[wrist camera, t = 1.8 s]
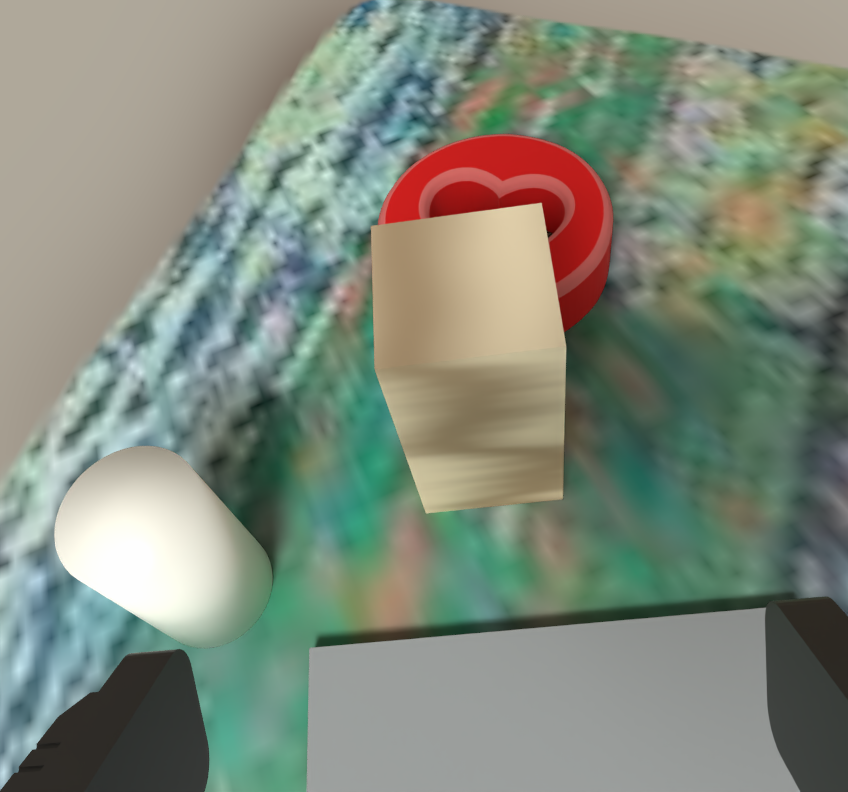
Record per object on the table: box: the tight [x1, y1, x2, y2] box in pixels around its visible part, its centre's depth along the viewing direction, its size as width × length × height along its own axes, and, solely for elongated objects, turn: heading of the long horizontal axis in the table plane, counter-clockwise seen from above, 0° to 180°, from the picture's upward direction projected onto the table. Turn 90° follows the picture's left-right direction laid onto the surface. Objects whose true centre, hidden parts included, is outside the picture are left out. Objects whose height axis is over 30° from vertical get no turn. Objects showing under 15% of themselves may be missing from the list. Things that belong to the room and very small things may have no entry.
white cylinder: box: [55, 446, 273, 648], centre depth 27 cm, size 4×4×7 cm
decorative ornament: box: [378, 134, 613, 332], centre depth 34 cm, size 10×10×3 cm
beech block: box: [371, 203, 566, 513], centre depth 27 cm, size 5×5×10 cm
